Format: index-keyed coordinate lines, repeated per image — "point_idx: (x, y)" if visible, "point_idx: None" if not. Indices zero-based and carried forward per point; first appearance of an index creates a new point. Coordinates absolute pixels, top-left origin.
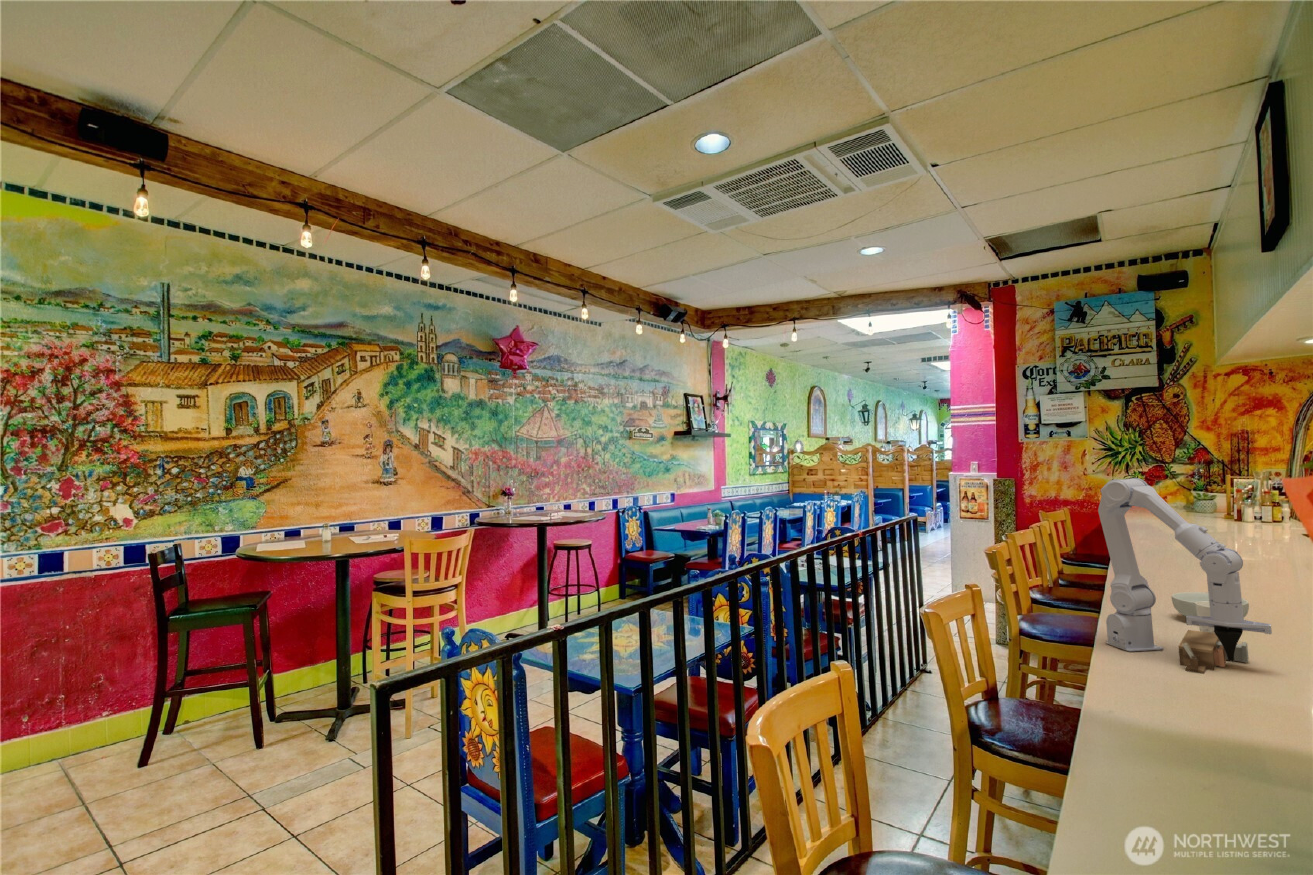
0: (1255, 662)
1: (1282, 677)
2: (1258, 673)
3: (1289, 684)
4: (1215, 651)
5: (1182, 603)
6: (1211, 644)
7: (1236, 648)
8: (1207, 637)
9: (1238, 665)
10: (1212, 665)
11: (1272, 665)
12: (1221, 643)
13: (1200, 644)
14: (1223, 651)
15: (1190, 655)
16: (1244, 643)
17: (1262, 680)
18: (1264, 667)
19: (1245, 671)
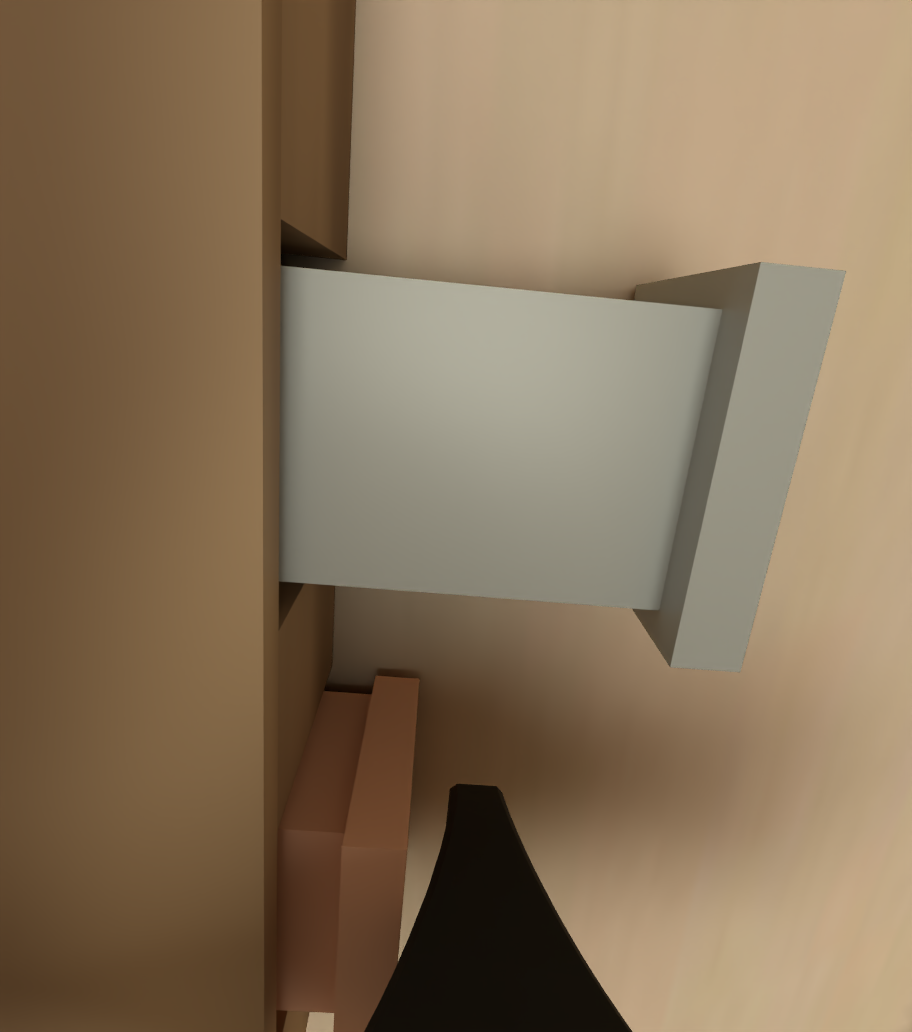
0: None
1: (842, 873)
2: (672, 851)
3: (833, 1029)
4: (299, 1000)
5: None
6: (218, 958)
7: (577, 594)
8: (60, 413)
9: (533, 657)
10: None
11: (891, 453)
12: (355, 425)
13: (74, 1029)
14: None
15: None
16: (764, 438)
17: (662, 1026)
18: (778, 599)
19: (572, 844)
